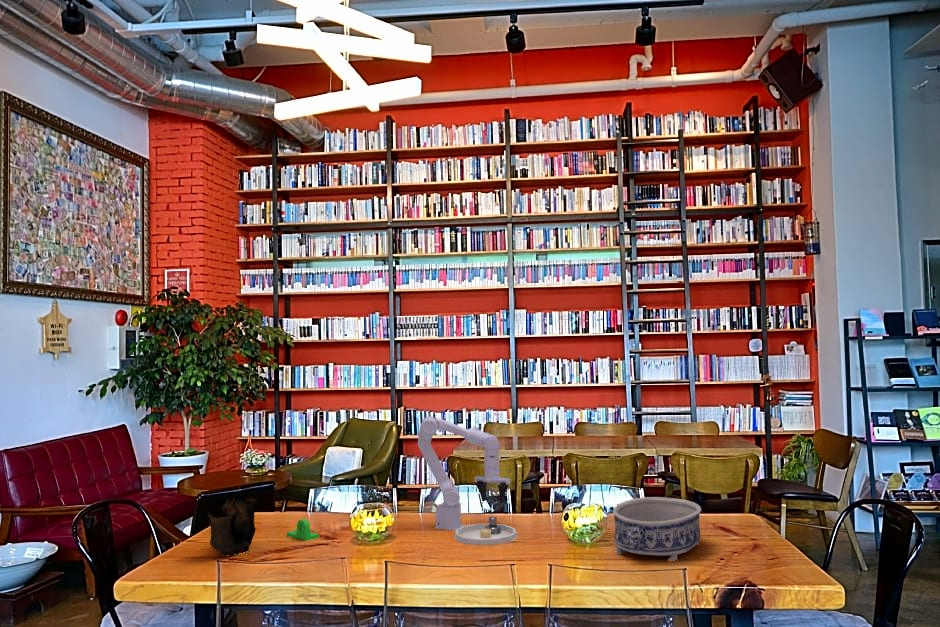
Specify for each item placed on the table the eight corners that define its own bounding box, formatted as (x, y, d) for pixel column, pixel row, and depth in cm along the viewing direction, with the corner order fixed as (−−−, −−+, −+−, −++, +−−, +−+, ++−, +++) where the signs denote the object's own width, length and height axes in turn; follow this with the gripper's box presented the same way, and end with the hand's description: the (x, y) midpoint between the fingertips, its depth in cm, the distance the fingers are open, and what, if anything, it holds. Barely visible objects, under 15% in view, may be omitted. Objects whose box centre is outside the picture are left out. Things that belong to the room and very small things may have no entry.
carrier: (443, 543, 260) (442, 534, 260) (472, 527, 280) (471, 519, 280) (501, 550, 249) (501, 541, 249) (527, 533, 270) (526, 525, 270)
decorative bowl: (644, 531, 270) (643, 491, 270) (716, 541, 255) (715, 498, 255) (596, 562, 235) (594, 515, 235) (677, 575, 220) (675, 525, 220)
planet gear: (482, 533, 269) (482, 518, 269) (489, 529, 274) (488, 514, 274) (496, 535, 266) (496, 520, 266) (503, 531, 271) (503, 516, 272)
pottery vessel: (237, 543, 265) (236, 489, 266) (265, 544, 263) (264, 489, 264) (200, 565, 240) (200, 504, 241) (231, 566, 238) (230, 505, 239)
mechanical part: (319, 539, 269) (318, 517, 269) (305, 543, 264) (305, 521, 265) (300, 534, 277) (299, 513, 277) (286, 537, 272) (286, 516, 273)
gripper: (470, 467, 282) (471, 502, 282) (504, 469, 276) (505, 505, 275) (478, 464, 289) (479, 498, 288) (512, 466, 282) (512, 501, 282)
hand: (492, 501), depth 282 cm, fingers open, 7 cm apart
